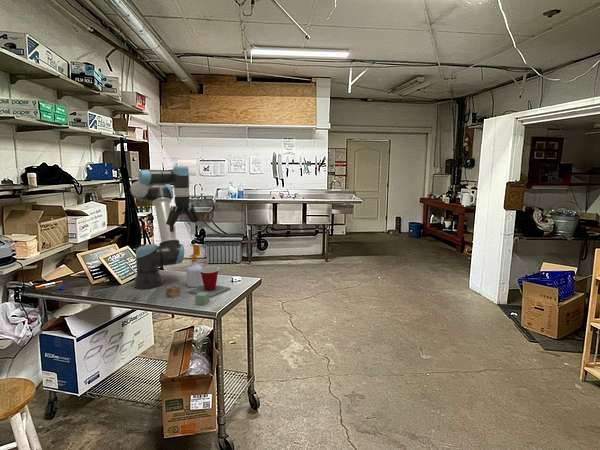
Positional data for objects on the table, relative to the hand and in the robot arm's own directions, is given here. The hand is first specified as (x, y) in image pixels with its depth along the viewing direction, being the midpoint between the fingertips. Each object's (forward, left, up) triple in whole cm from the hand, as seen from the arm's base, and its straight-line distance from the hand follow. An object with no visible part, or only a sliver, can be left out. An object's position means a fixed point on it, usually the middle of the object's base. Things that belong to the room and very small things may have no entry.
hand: (183, 236), depth 196 cm
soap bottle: (-7, +14, -32) cm, 36 cm away
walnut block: (-3, -6, -32) cm, 32 cm away
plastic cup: (+8, +10, -31) cm, 33 cm away
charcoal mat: (+8, +10, -32) cm, 34 cm away
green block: (+18, -6, -32) cm, 37 cm away
